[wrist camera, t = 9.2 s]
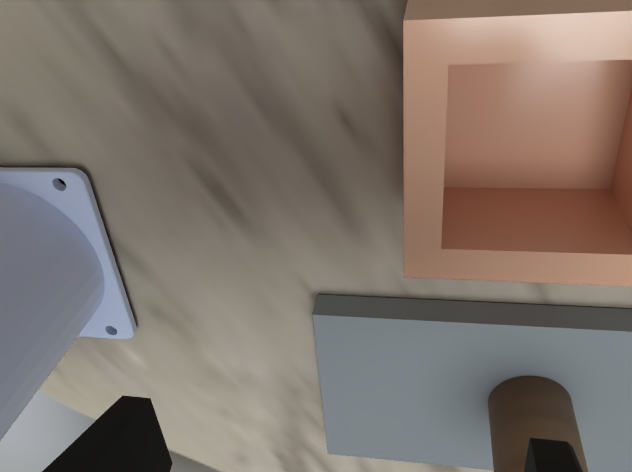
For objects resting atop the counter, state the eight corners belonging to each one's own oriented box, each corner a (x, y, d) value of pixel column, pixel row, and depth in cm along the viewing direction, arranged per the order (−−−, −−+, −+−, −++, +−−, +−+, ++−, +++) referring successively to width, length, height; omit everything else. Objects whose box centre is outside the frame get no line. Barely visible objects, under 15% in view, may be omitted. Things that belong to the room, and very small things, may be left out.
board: (332, 431, 27) (327, 453, 26) (317, 294, 23) (312, 314, 22) (720, 467, 24) (731, 493, 23) (788, 316, 20) (806, 340, 19)
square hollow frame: (410, 206, 20) (404, 277, 17) (411, -15, 16) (403, 20, 13) (634, 209, 19) (676, 287, 15) (692, -31, 15) (763, 5, 12)
